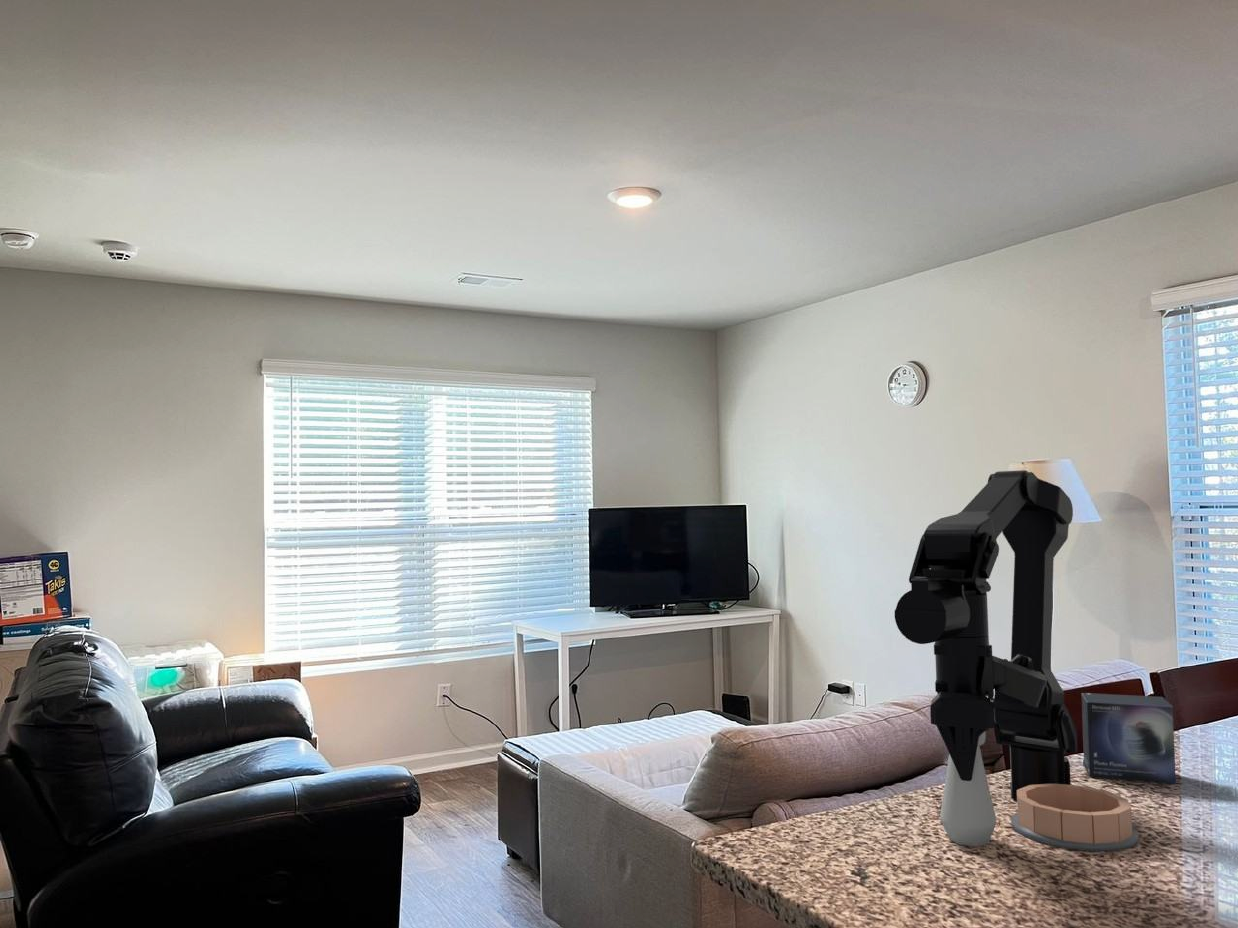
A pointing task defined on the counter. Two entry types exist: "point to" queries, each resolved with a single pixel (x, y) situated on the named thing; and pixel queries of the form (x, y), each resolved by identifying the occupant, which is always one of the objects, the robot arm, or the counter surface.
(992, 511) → the robot arm
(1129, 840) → the socket
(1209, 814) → the counter surface
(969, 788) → the salt shaker
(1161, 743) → the small box
